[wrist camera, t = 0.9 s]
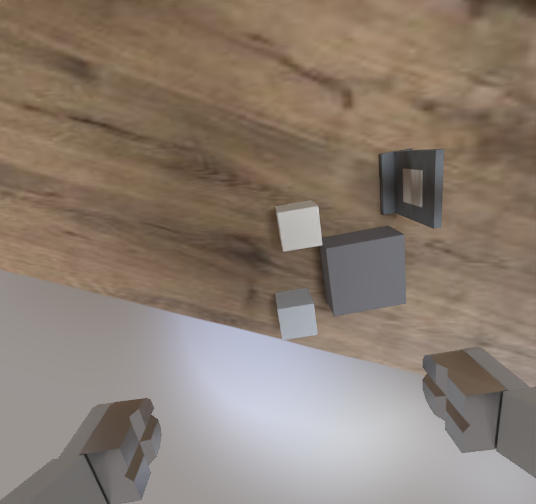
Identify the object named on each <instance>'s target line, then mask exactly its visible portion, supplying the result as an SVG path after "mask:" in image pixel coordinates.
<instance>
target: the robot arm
mask: <svg viewBox="0 0 536 504" xmlns="http://www.w3.org/2000/svg"><path fill="white" fill-rule="evenodd" d="M423 368H424V369H425V371H426V372H427V374H426V376H425V377H424V378H423V391H424V394H425V398H426V401H427V403H428V405H429V407H430V408H431V410H432V411H433V413H434V414H435V415H436V416H438V417H439V418H441V419H443V420H444V421H445V430H446V431H447V433H448V434H449V435H450V437H451V438H452V440H453V441H454V443H455V444H456V445H457V447H458V448H459V449H460V451H461V452H462V453H466V452H475V451H484V450H492V449H497V450H496V451H497V452H499V453H500V454H501V455H503V456H504V457H506V458H507V459H509V460H510V461H512V462H513V463H515V464H516V465H518V466H519V467H520V468H522V469H524V470H525V471H526V472H528V473H529V474H531V475H532V476H534V477H535V478H536V387H532V388H530V387H529V386H528V385H526V384H525V383H524V382H523V381H522V380H520V379H519V378H518V377H517V376H516V375H514V374H513V373H512V372H511V371H509V370H508V369H507V368H506V367H505V366H503V365H502V364H501V363H500V362H498V361H497V360H496V359H495V358H494V357H492V356H491V355H490V354H489V353H487V352H486V351H485V350H484V349H482V348H480V347H472V348H466V349H460V350H456V351H450V352H444V353H438V354H431V355H425V356H424V358H423ZM153 409H154V407H153V405H152V402H151V400H150V399H148V398H144V399H136V400H128V401H120V402H114V403H107V404H99V405H97V406H95V407H94V408H92V410H91V411H90V413H89V414H88V416H87V417H86V418H85V420H84V421H83V423H82V424H81V426H80V427H79V429H78V430H77V432H76V433H75V434H74V436H73V437H72V439H71V440H70V442H69V443H68V445H67V446H66V448H65V449H64V451H63V452H62V453H61V455H60V456H59V458H58V459H53V460H51V461H50V462H49V463H47V464H46V465H45V466H43V467H42V468H41V469H40V470H38V471H37V472H36V473H35V474H33V475H32V476H31V477H29V478H28V479H27V480H26V481H24V482H23V483H22V484H20V485H19V486H18V487H17V488H15V489H14V490H13V491H12V492H10V493H9V494H8V495H6V496H5V497H4V498H3V499H1V500H0V504H122V503H127V502H133V501H138V500H142V497H143V494H144V491H145V488H146V486H147V483H148V480H149V477H150V474H151V472H150V469H149V466H148V465H149V464H150V463H151V462H152V461H153V460H154V459H155V458H156V457H157V454H158V451H159V448H160V441H161V428H160V424H159V421H158V419H156V418H155V417H154V416H152V415H151V414H152V411H153Z"/></svg>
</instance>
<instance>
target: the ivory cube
mask: <svg viewBox="0 0 536 504" xmlns="http://www.w3.org/2000/svg"><path fill="white" fill-rule="evenodd" d="M275 210H276V216H277V222H278V229H279V235H280V241H281V245H282V249H283V252H285V251H291V250H297V249H303V248H309V247H315V246H321V245H322V236H321V227H320V217H319V208H318V205H316V204H315V203H314V202H313V201H311V200H309V201H303V202H297V203H292V204H286V205H280V206H275Z"/></svg>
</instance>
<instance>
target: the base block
mask: <svg viewBox="0 0 536 504" xmlns="http://www.w3.org/2000/svg"><path fill="white" fill-rule="evenodd" d="M319 247H320V255H321V263H322V270H323V278H324V286H325V294H326V300H327V302H328V304H329V307H330V309H331V311H332V313H333V315H334V316H338V315H344V314H349V313H355V312H361V311H366V310H372V309H378V308H383V307H389V306H395V305H400V304H406V284H405V244H404V234H402V233H401V232H399V231H397V230H395V229H393V228H391V227H389V226H384V227H378V228H373V229H368V230H362V231H357V232H351V233H346V234H340V235H335V236H329V237H324V238H322V245H321V246H319Z"/></svg>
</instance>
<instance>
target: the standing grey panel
mask: <svg viewBox="0 0 536 504" xmlns="http://www.w3.org/2000/svg"><path fill="white" fill-rule="evenodd" d="M443 164H444V149H431V150H413V149H405V150H399V151H393V152H388V153H382V154H379V165H380V194H381V214H383V215H385V214H391V213H397V214H399V215H402V216H404V217H407V218H409V219H411V220H414V221H416V222H419V223H421V224H424V225H426V226H429V227H431V228H433V229H435V228H441V221H442V192H443Z"/></svg>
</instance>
